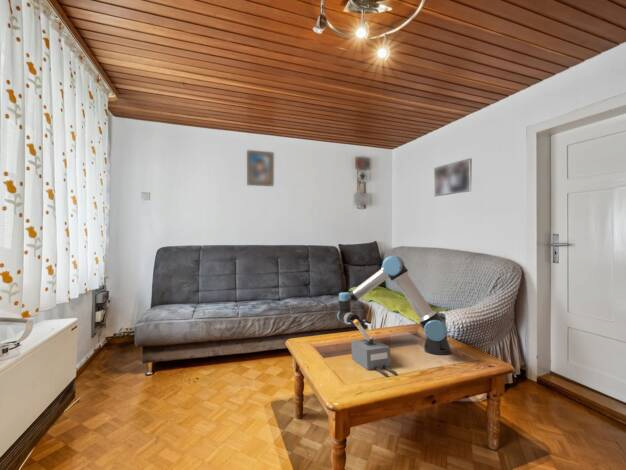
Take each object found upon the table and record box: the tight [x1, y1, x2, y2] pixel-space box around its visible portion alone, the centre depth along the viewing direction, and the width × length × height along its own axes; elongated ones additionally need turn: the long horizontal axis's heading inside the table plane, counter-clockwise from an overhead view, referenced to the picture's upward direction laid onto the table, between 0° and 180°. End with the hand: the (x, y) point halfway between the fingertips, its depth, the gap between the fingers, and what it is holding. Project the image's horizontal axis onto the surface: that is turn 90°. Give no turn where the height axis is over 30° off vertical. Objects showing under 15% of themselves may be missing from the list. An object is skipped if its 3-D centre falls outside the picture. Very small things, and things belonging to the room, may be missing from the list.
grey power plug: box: [350, 338, 398, 377], centre depth 152 cm, size 29×14×10 cm, turn 19°
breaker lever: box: [353, 319, 373, 344], centre depth 157 cm, size 4×2×15 cm
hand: (371, 327), depth 153 cm, fingers closed
